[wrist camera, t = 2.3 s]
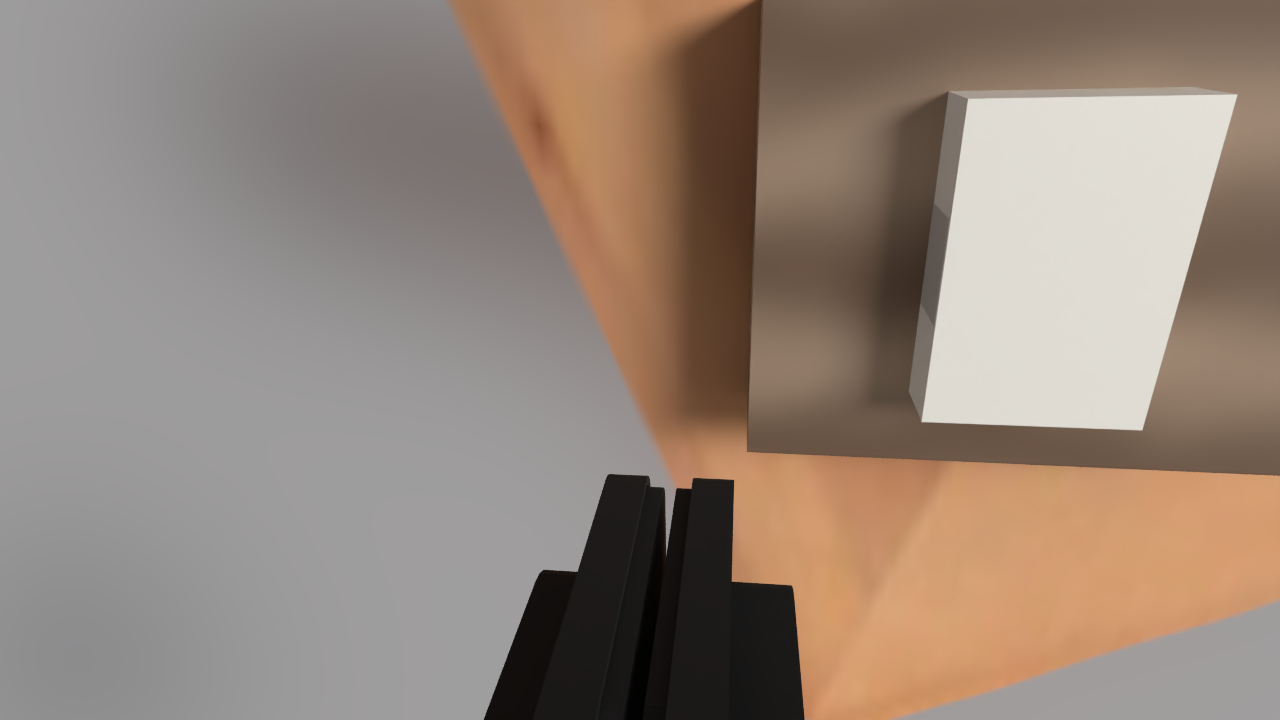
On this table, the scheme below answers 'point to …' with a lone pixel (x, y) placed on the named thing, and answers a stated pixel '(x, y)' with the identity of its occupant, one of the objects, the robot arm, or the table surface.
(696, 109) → the table surface
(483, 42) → the table surface
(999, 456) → the brown wooden block
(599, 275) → the table surface
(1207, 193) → the off-white flat slab
